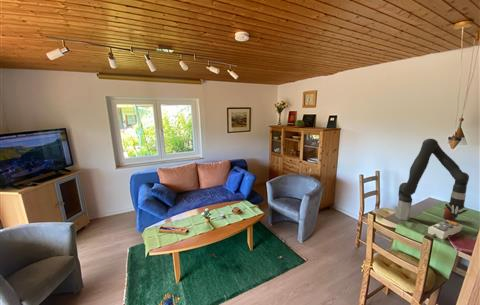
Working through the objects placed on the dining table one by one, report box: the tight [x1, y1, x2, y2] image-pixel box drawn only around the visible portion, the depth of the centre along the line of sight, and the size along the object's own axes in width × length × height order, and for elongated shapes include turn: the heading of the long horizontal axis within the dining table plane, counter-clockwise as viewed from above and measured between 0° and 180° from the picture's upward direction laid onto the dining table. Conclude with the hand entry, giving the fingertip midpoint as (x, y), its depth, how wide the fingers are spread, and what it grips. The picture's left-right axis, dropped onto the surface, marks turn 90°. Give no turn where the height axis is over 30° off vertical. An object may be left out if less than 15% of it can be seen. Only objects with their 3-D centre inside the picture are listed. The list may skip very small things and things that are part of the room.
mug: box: [442, 206, 456, 222], centre depth 173 cm, size 12×9×10 cm
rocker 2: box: [449, 221, 460, 225], centre depth 157 cm, size 6×4×2 cm, turn 112°
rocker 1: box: [437, 224, 448, 231], centre depth 151 cm, size 6×4×2 cm, turn 112°
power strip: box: [427, 220, 463, 240], centre depth 155 cm, size 32×9×6 cm, turn 112°
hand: (454, 217), depth 155 cm, fingers closed
